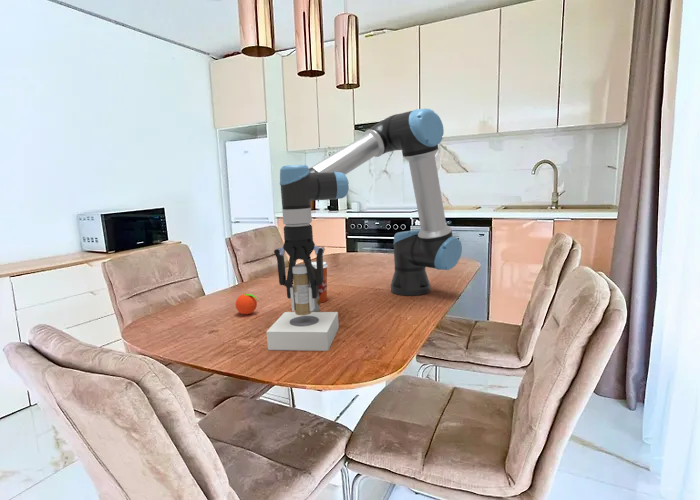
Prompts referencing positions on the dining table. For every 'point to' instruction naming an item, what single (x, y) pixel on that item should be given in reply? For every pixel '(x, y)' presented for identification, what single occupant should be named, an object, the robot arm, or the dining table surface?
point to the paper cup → (324, 285)
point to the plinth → (303, 331)
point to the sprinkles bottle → (301, 289)
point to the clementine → (246, 303)
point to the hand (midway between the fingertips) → (303, 309)
